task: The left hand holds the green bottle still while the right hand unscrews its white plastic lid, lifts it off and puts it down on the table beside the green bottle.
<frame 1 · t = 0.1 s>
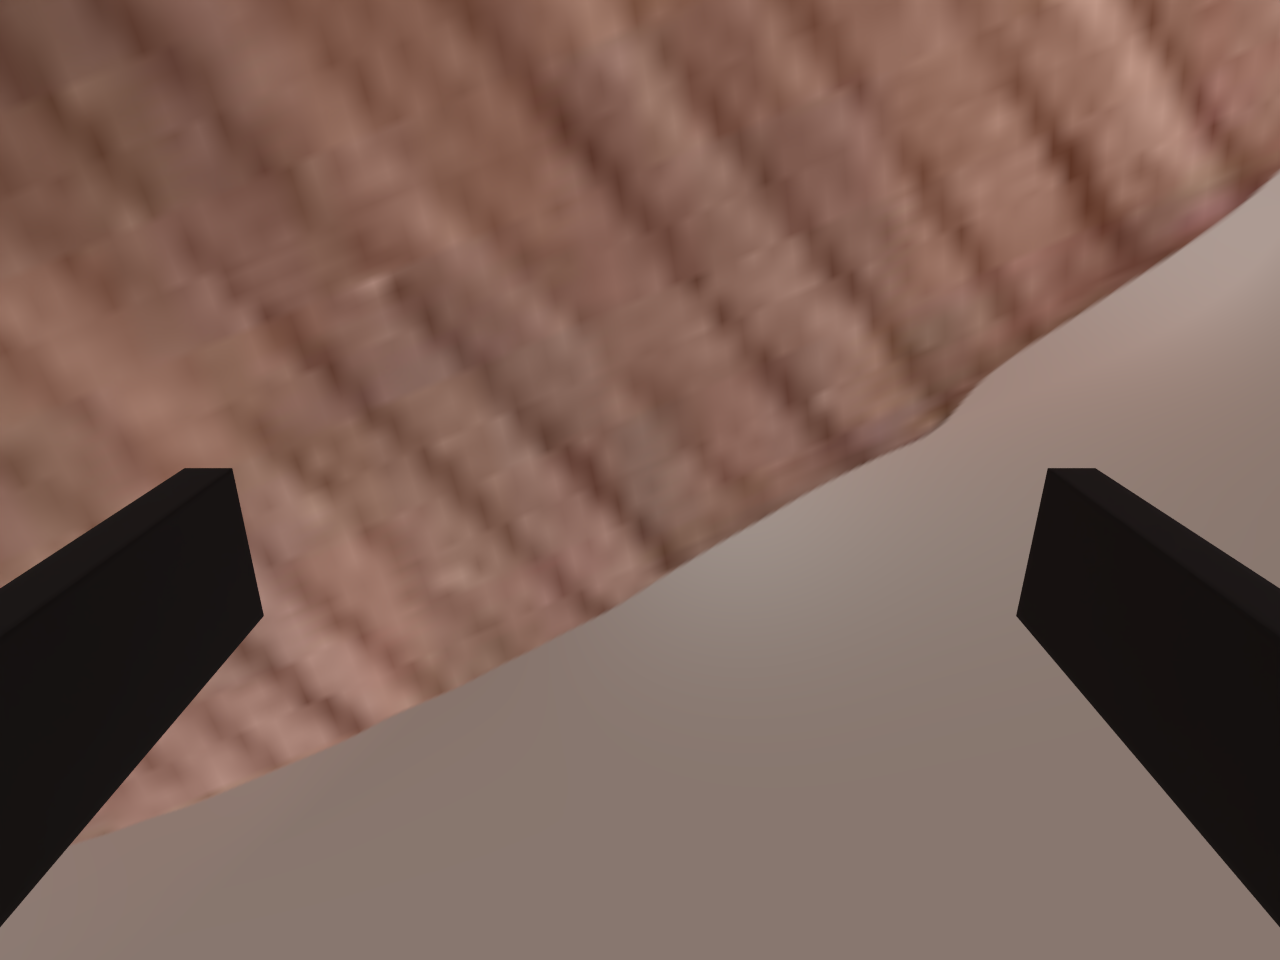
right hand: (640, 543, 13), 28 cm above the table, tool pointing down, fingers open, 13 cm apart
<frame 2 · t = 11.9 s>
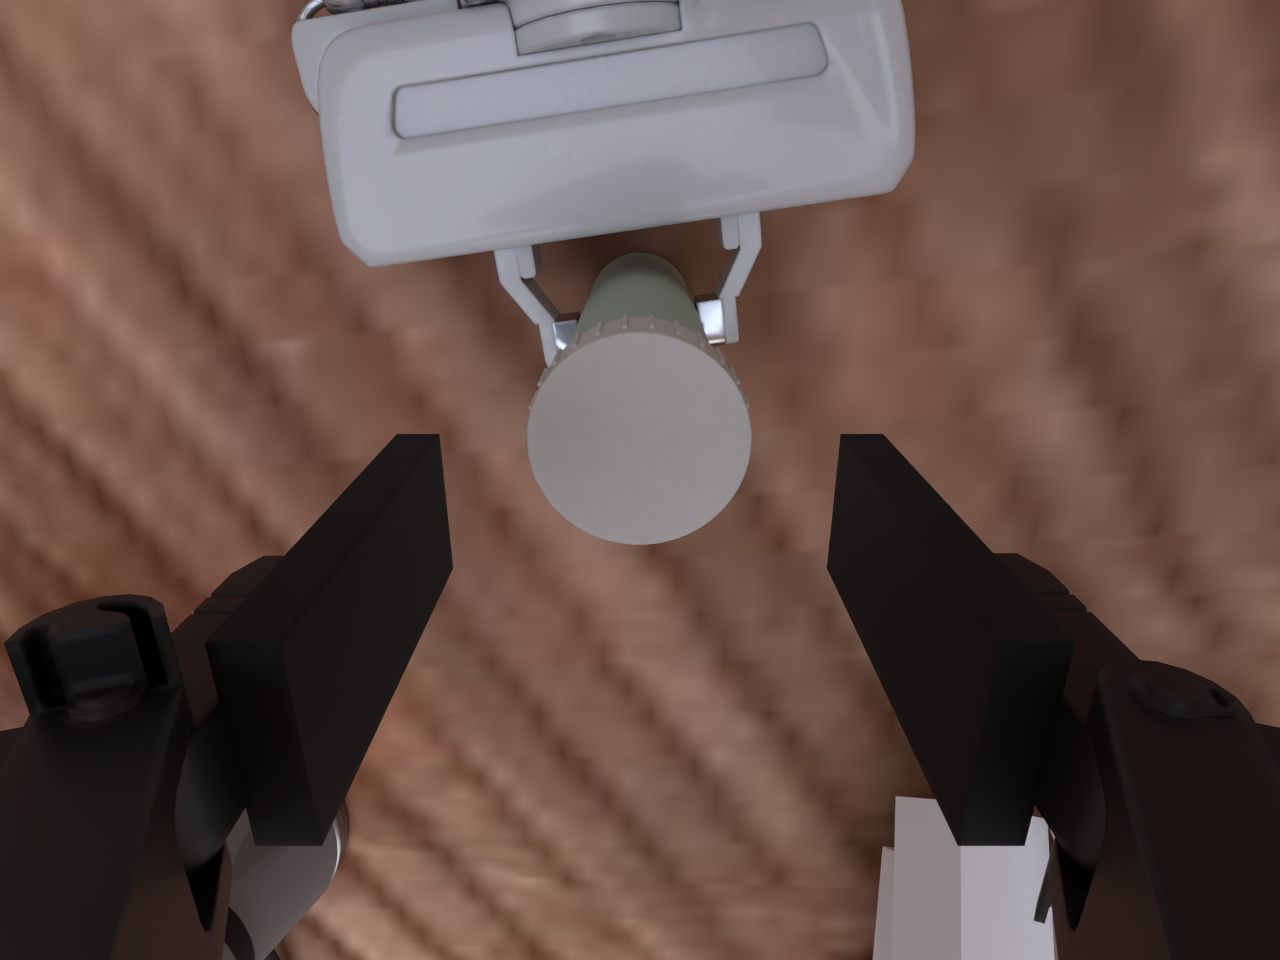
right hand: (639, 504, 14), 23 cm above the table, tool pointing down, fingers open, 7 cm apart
left hand: (643, 352, 30), fingers closed on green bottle, 4 cm apart
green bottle: (639, 303, 36), on the table, touching left hand
pile of blocks: (993, 860, 49), on the table
lid: (639, 439, 18), point 20 cm above the table, screwed on, not yet turned
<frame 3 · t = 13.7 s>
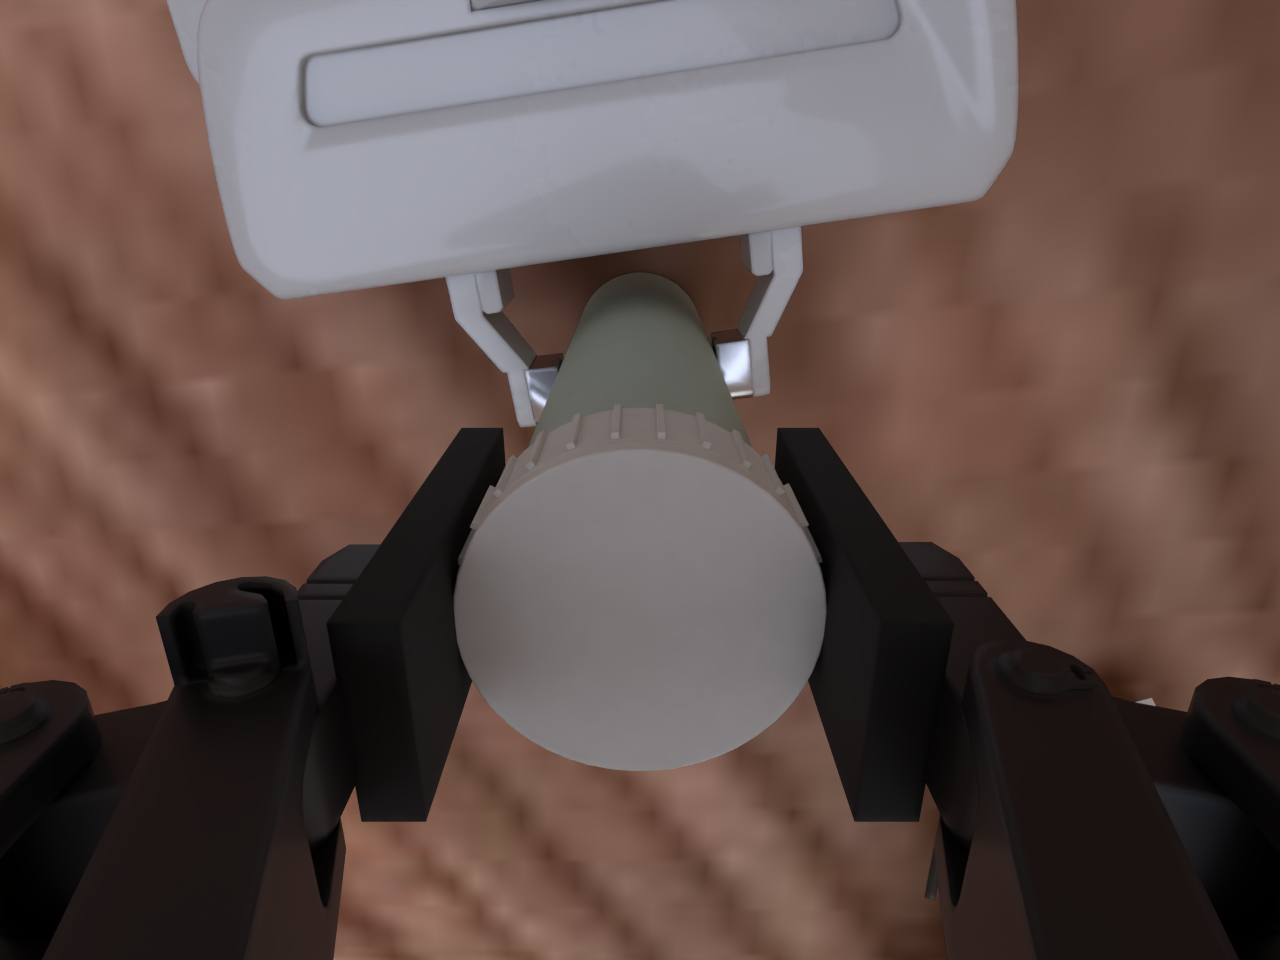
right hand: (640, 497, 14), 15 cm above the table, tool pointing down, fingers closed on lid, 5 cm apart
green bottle: (640, 334, 29), on the table, touching left hand
lid: (639, 611, 11), point 20 cm above the table, screwed on, not yet turned, touching right hand
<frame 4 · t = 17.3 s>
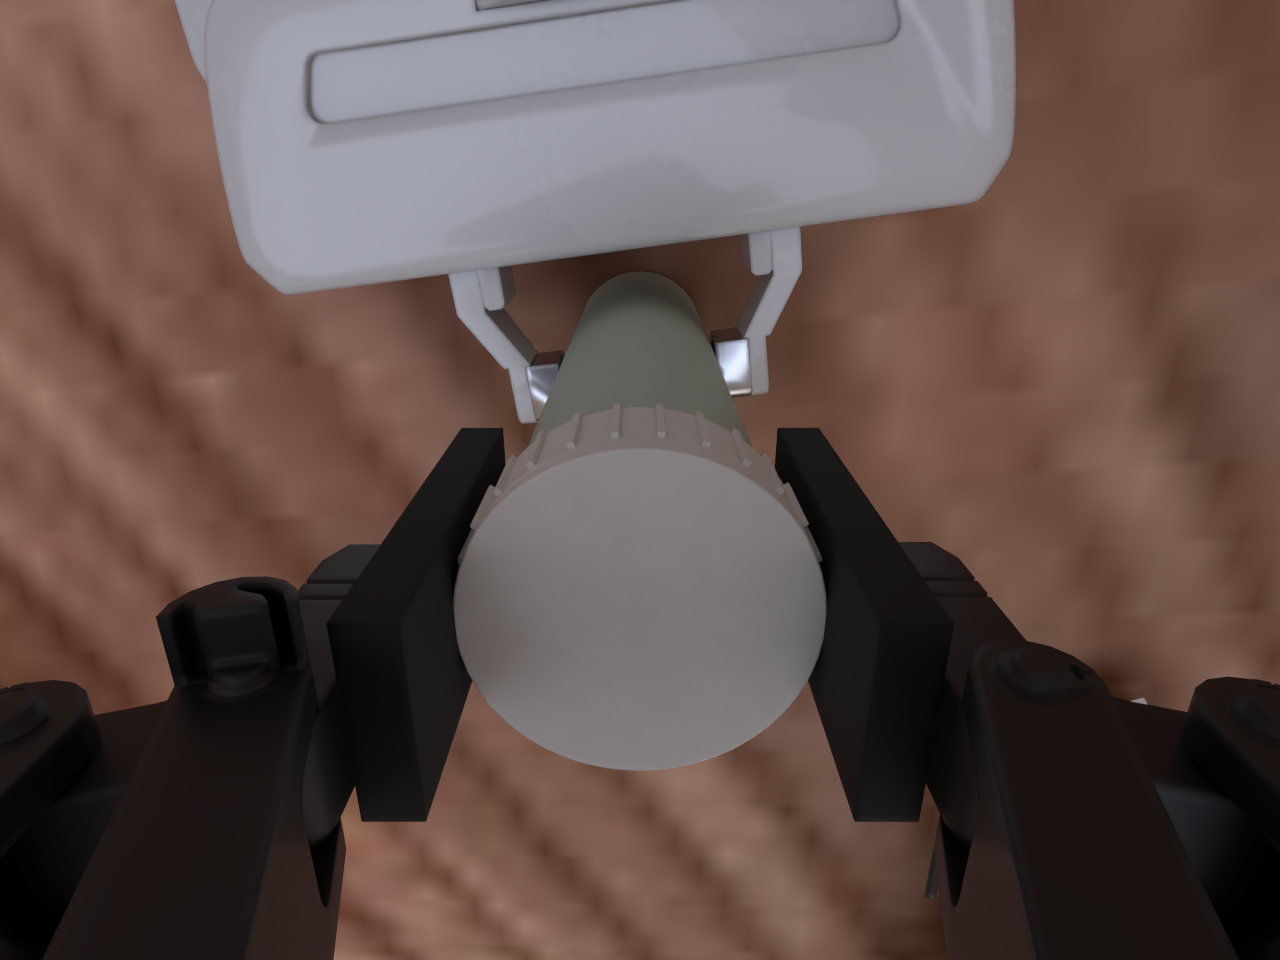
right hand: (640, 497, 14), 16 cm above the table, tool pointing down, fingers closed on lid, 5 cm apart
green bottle: (639, 333, 29), on the table, touching left hand
lid: (639, 611, 11), point 20 cm above the table, turned 134° so far, risen 0.2 cm, still on its thread, touching right hand
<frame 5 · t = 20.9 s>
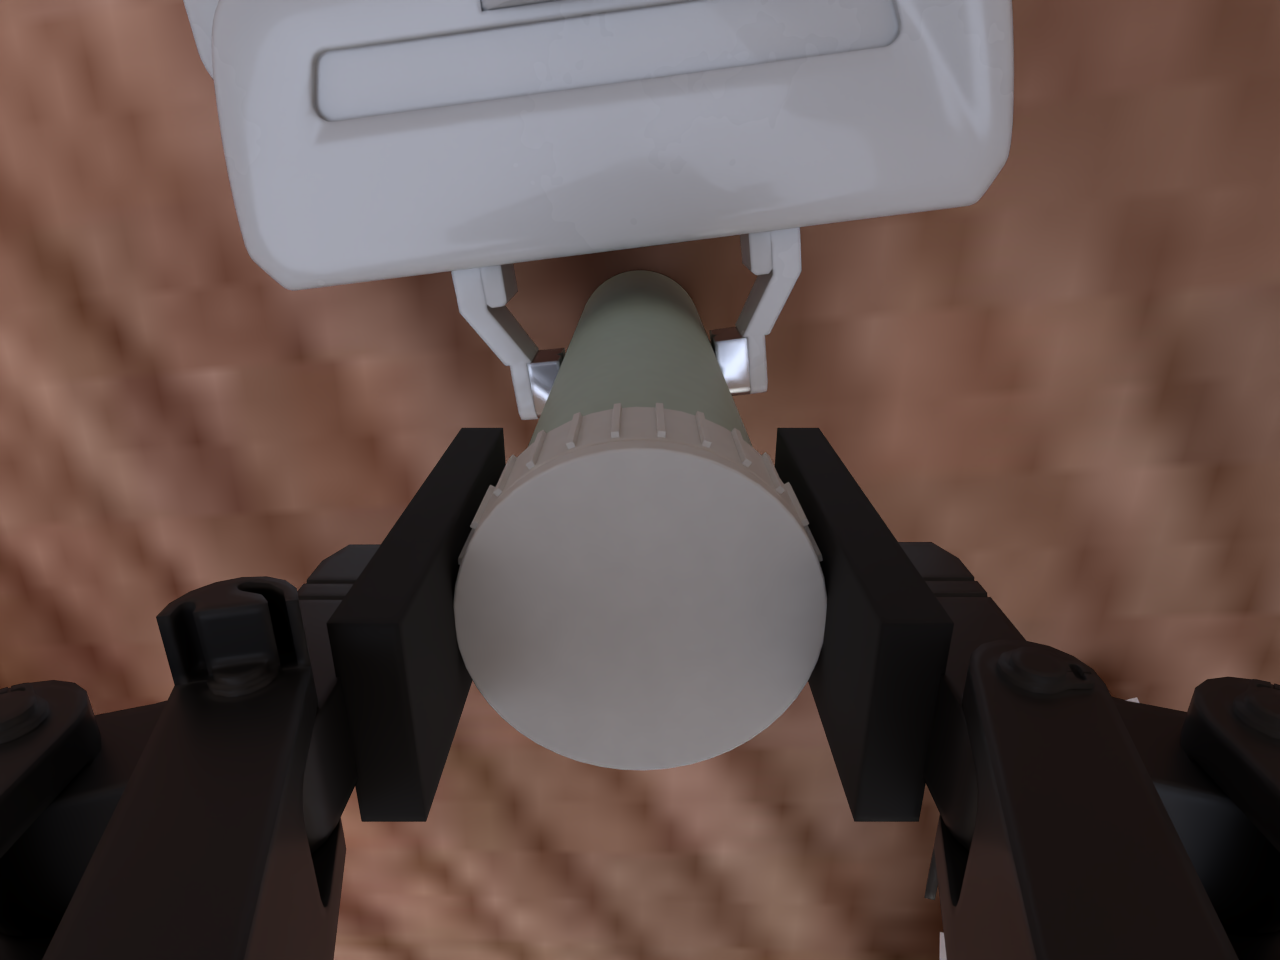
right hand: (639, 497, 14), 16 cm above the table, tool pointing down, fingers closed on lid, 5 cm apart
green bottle: (640, 331, 29), on the table, touching left hand
lid: (640, 610, 11), point 20 cm above the table, turned 268° so far, risen 0.5 cm, still on its thread, touching right hand
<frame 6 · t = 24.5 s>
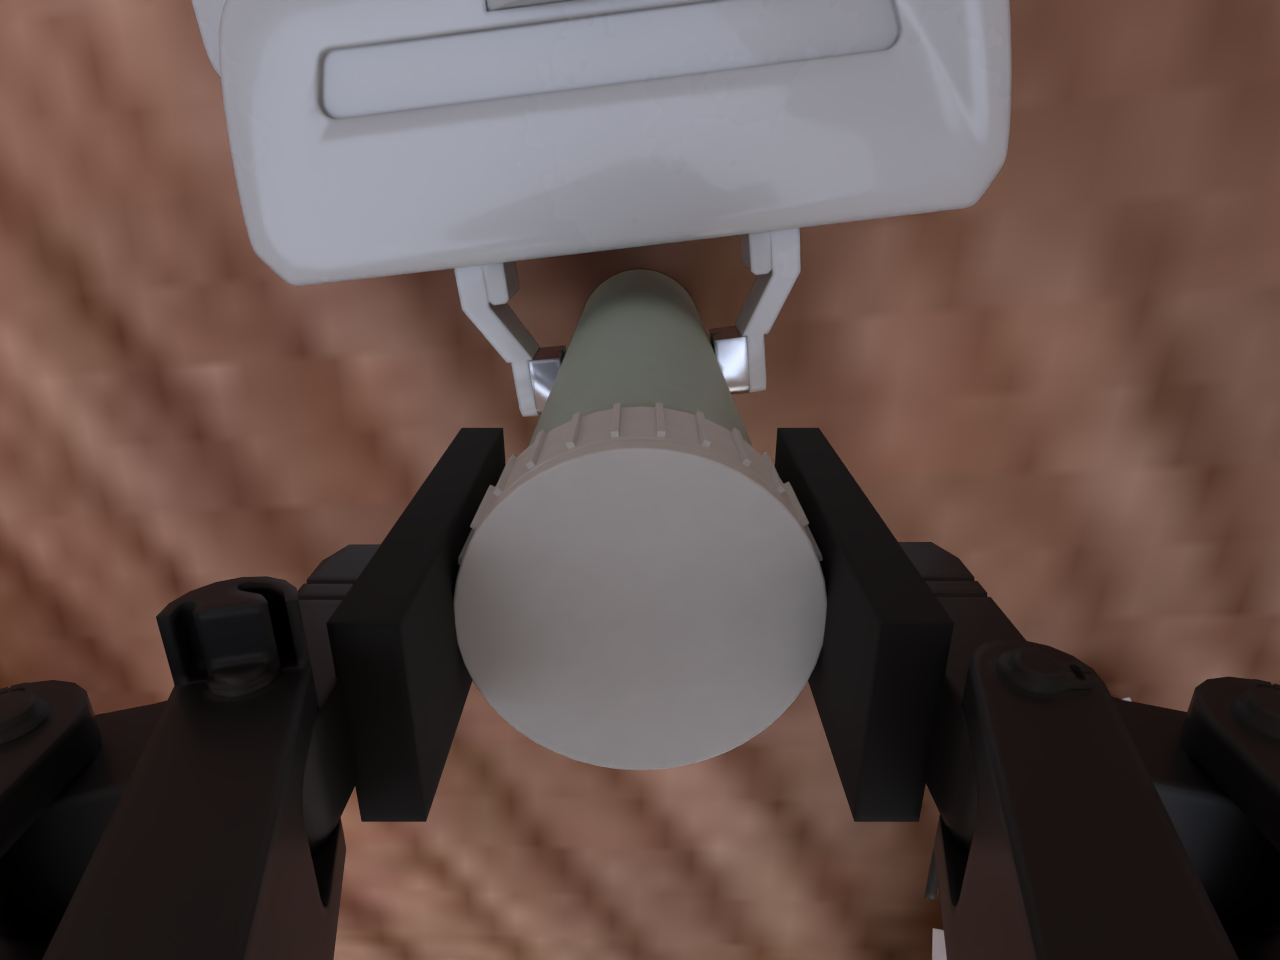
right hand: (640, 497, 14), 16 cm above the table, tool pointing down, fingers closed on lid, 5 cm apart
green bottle: (640, 330, 29), on the table, touching left hand
lid: (640, 610, 11), point 20 cm above the table, turned 402° so far, risen 0.7 cm, still on its thread, touching right hand
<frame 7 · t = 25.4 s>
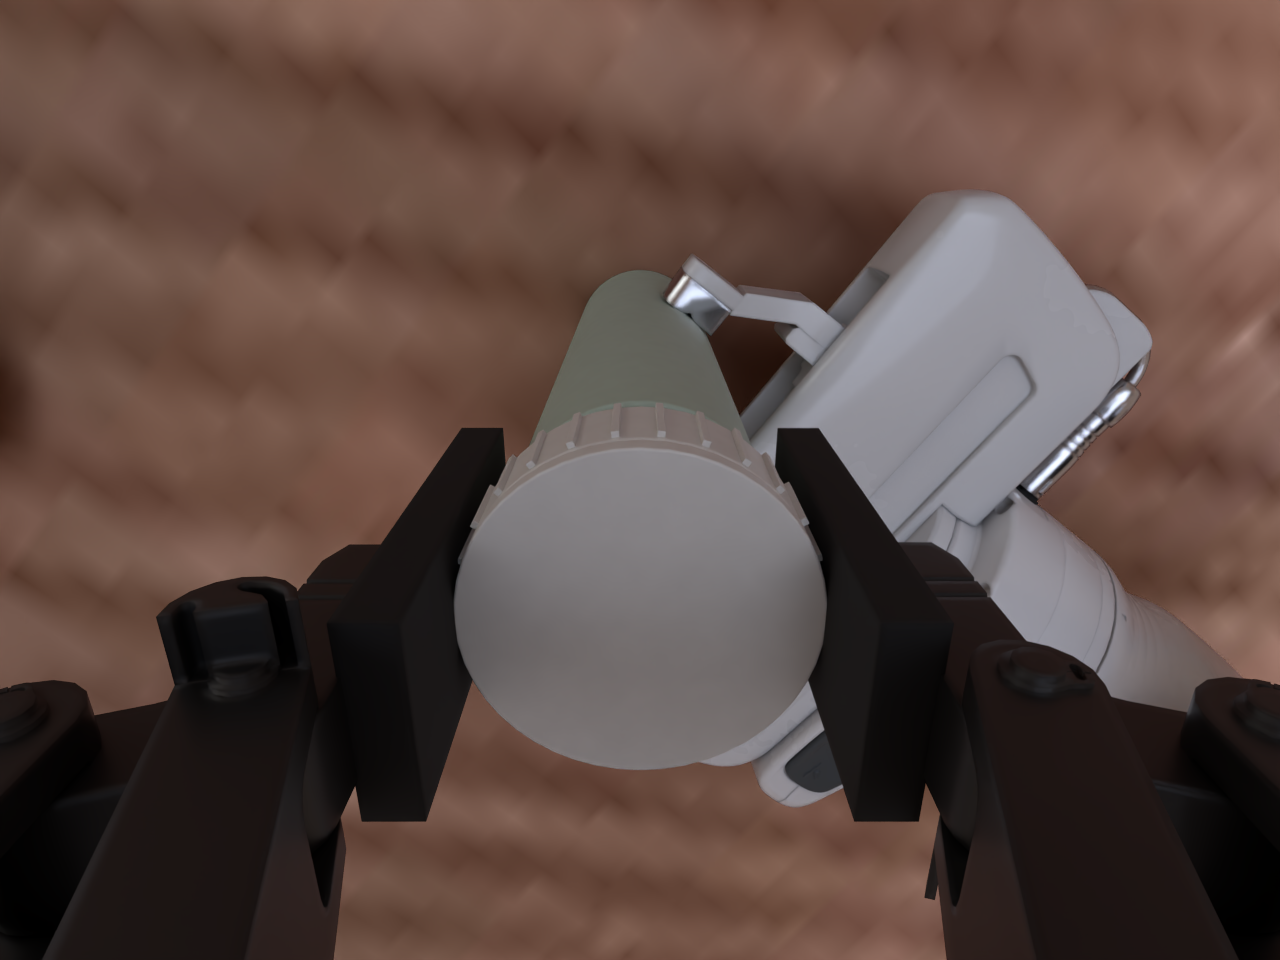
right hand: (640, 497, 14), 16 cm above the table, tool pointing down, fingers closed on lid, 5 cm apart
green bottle: (640, 330, 30), on the table, touching left hand
lid: (640, 610, 11), point 20 cm above the table, off its thread, touching right hand
when the right hand's fingers open (0 cm above the table, at t = 31.4 s): lid drops 3 cm, point 2 cm above the table.
when the left hand's fingers open (7 cm above the table, at t = 32.0 s): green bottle stays where it is, on the table.
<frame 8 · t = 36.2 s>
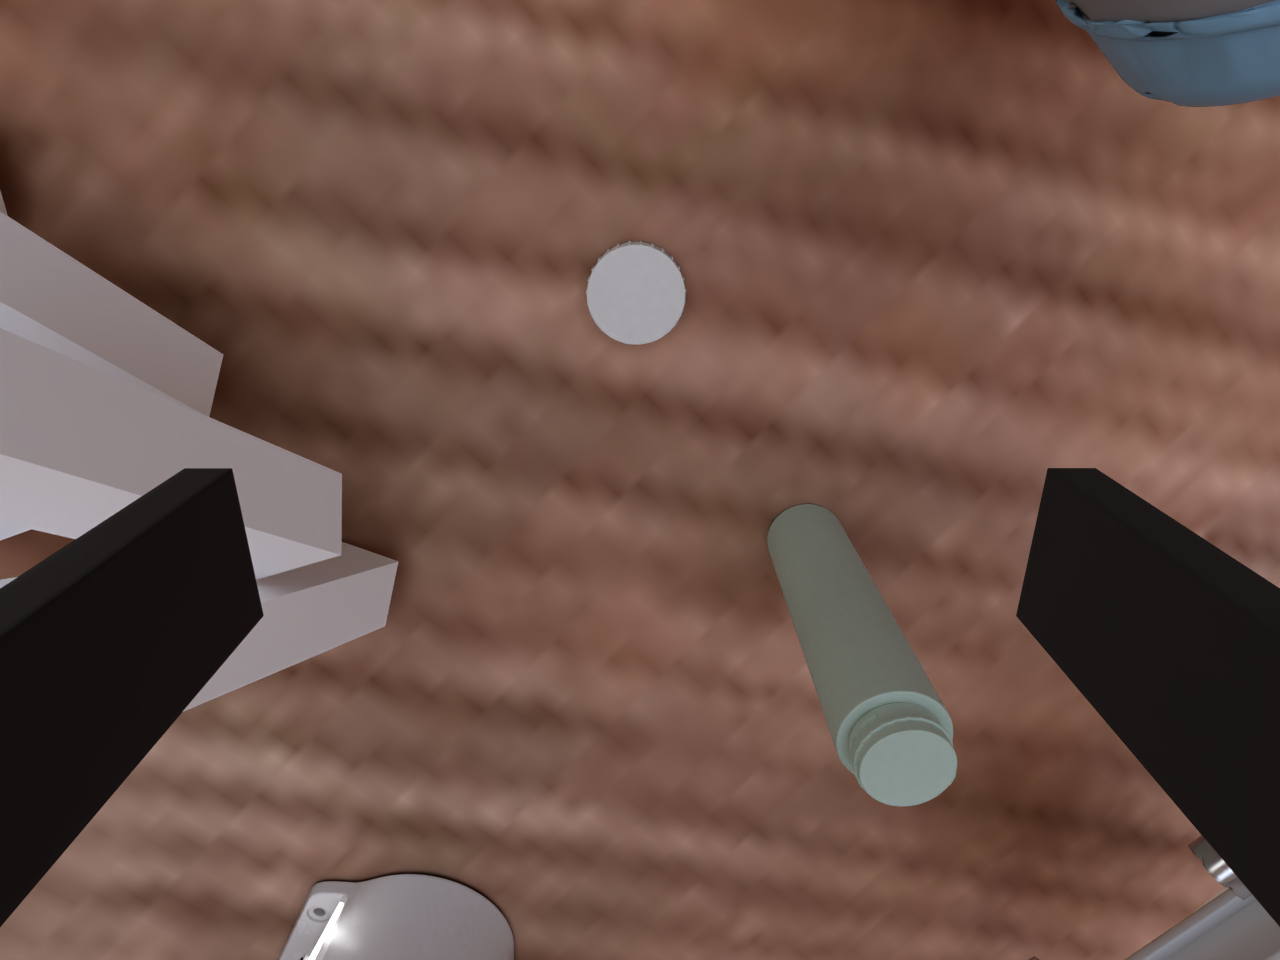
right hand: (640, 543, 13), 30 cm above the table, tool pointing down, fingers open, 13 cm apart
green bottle: (804, 537, 46), on the table
pile of blocks: (96, 389, 43), on the table
lid: (636, 294, 40), point 2 cm above the table, off its thread
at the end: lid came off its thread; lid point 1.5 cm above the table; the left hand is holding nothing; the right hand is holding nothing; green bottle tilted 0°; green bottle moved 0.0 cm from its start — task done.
